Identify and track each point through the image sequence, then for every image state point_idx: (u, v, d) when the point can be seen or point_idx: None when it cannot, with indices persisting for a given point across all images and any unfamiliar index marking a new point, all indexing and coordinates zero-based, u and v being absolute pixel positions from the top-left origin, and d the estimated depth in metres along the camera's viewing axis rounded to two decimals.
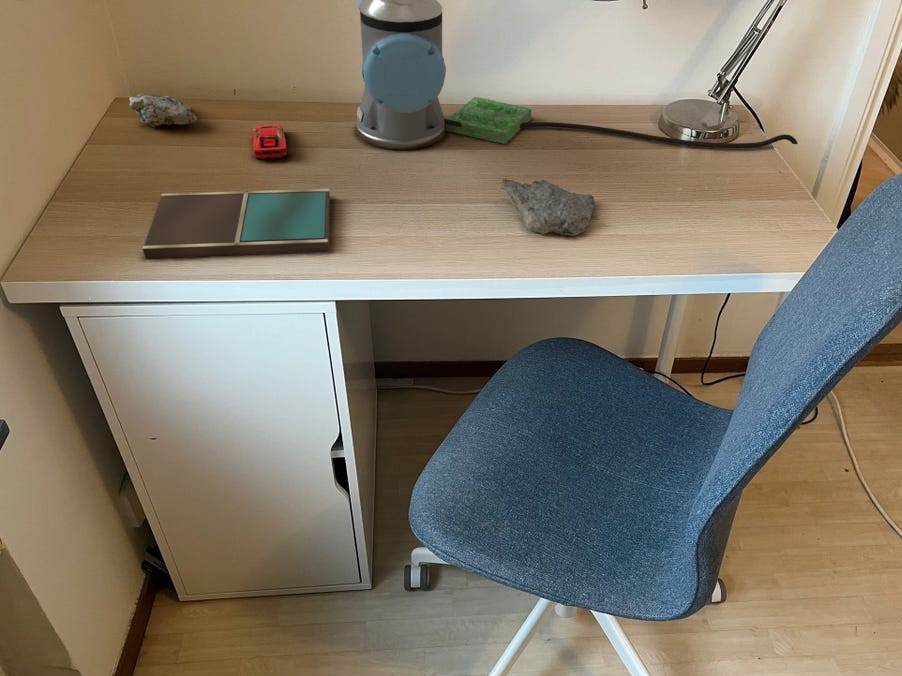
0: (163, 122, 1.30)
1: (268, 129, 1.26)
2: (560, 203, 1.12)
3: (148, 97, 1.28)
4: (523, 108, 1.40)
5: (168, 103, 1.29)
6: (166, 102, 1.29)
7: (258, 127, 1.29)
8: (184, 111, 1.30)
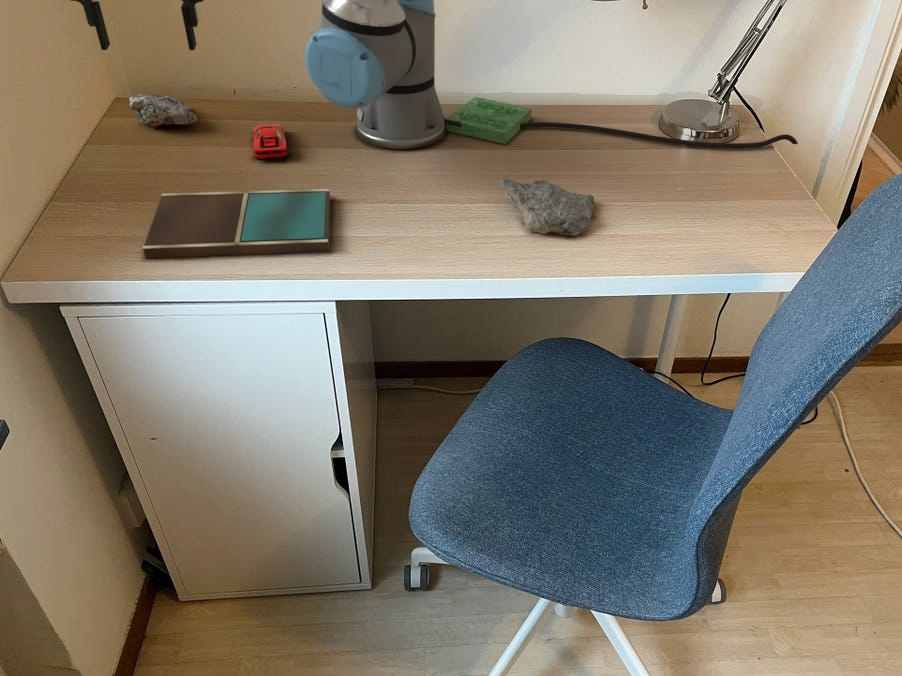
0: (163, 122, 1.30)
1: (268, 129, 1.26)
2: (560, 203, 1.12)
3: (148, 97, 1.28)
4: (523, 108, 1.40)
5: (168, 103, 1.29)
6: (166, 102, 1.29)
7: (258, 127, 1.29)
8: (184, 111, 1.30)
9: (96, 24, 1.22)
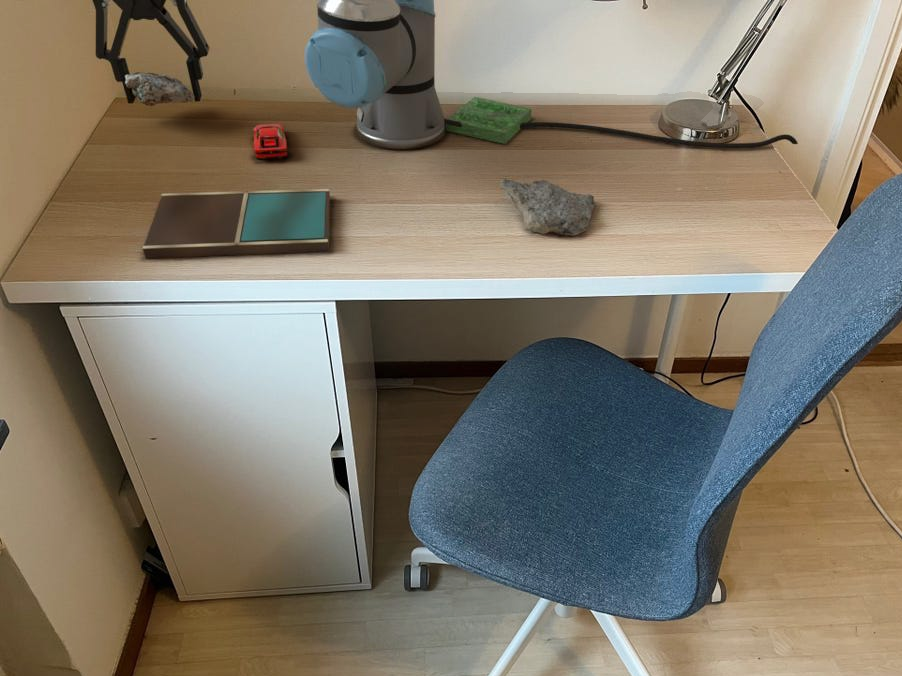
0: (160, 100, 1.28)
1: (268, 129, 1.26)
2: (560, 203, 1.12)
3: (144, 74, 1.26)
4: (523, 108, 1.40)
5: (164, 81, 1.27)
6: (162, 80, 1.27)
7: (258, 127, 1.29)
8: (181, 89, 1.27)
9: (123, 80, 1.28)
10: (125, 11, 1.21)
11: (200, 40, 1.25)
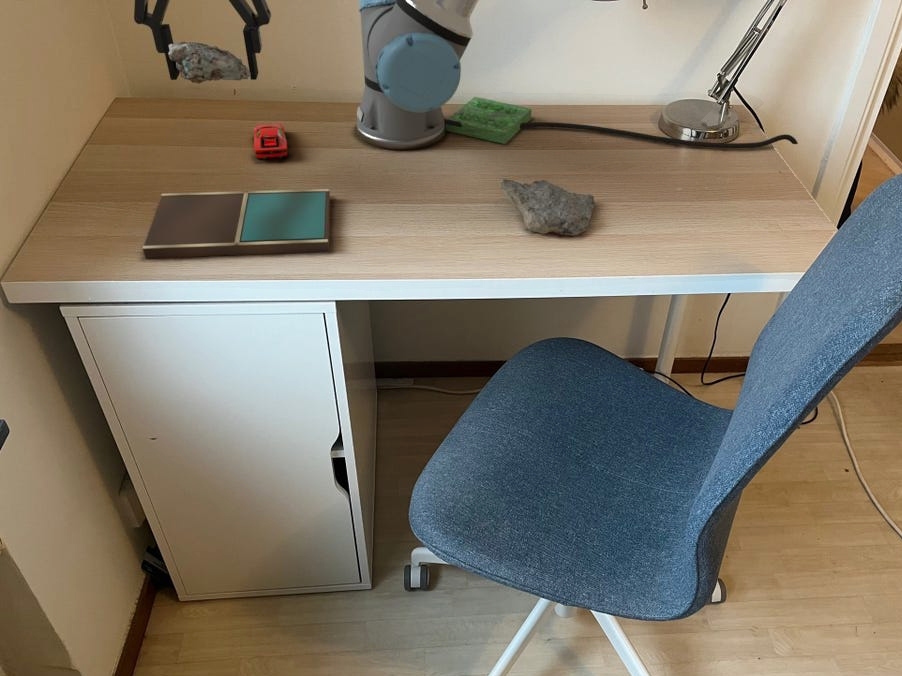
0: (209, 77, 1.05)
1: (269, 129, 1.26)
2: (560, 203, 1.12)
3: (192, 44, 1.03)
4: (523, 108, 1.40)
5: (216, 53, 1.04)
6: (214, 51, 1.04)
7: (259, 127, 1.29)
8: (235, 63, 1.05)
9: (166, 51, 1.05)
10: None
11: (261, 4, 1.03)
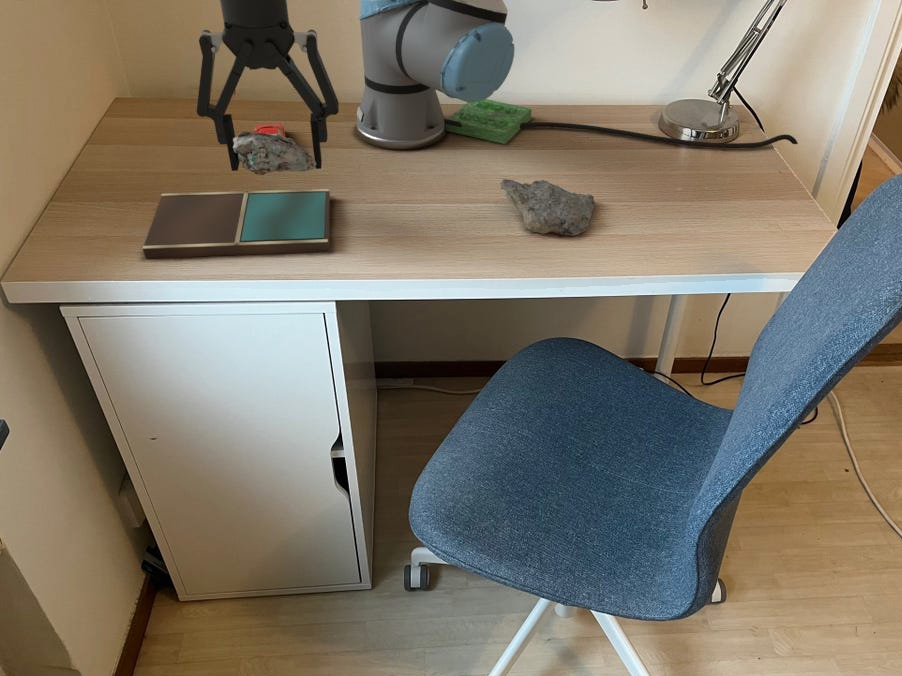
0: (275, 169, 1.00)
1: (269, 129, 1.26)
2: (560, 203, 1.12)
3: (258, 137, 0.98)
4: (523, 108, 1.40)
5: (283, 145, 0.99)
6: (280, 144, 0.99)
7: (259, 127, 1.29)
8: (303, 155, 0.99)
9: (228, 142, 1.00)
10: (241, 58, 0.93)
11: (331, 95, 0.98)
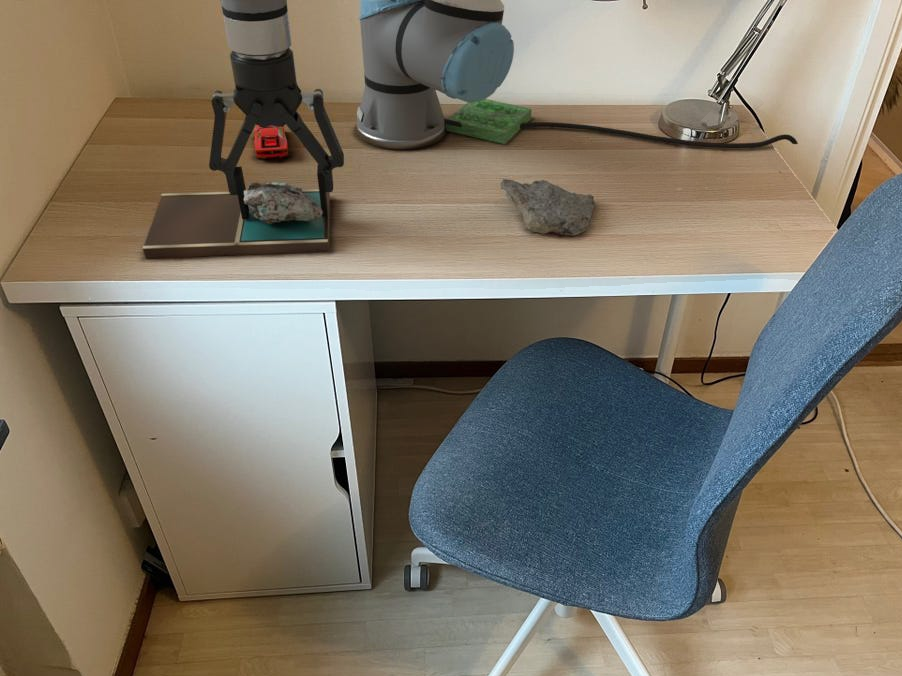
0: (284, 219, 1.05)
1: (269, 129, 1.26)
2: (560, 203, 1.12)
3: (267, 190, 1.03)
4: (523, 108, 1.40)
5: (291, 197, 1.04)
6: (289, 195, 1.04)
7: (259, 127, 1.29)
8: (310, 206, 1.04)
9: (239, 193, 1.05)
10: (251, 118, 0.98)
11: (337, 149, 1.03)
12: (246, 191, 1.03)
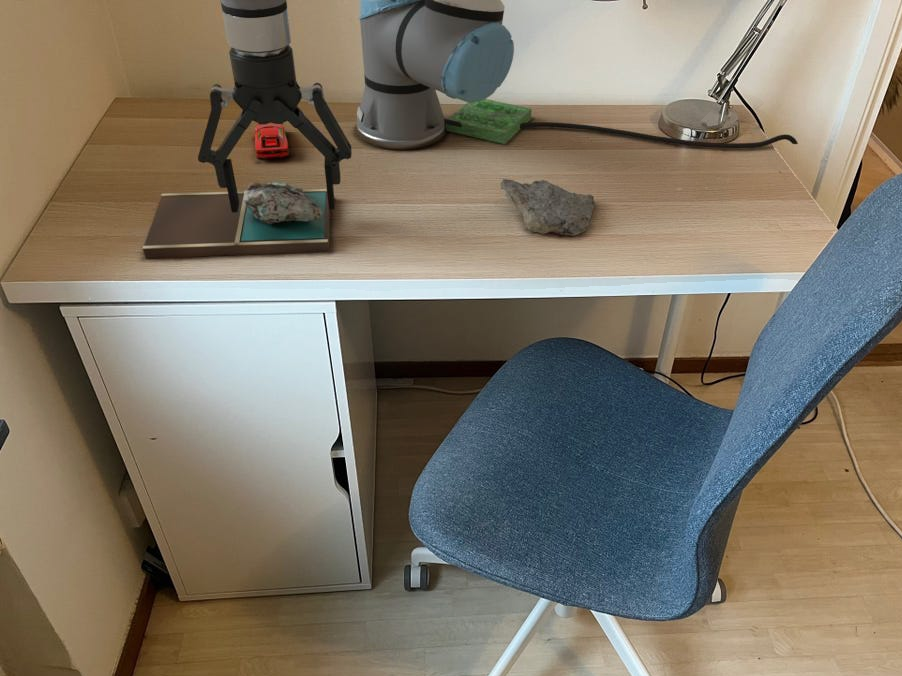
0: (284, 220, 1.05)
1: (270, 129, 1.26)
2: (560, 203, 1.12)
3: (267, 190, 1.03)
4: (523, 108, 1.40)
5: (291, 197, 1.04)
6: (289, 196, 1.04)
7: (259, 127, 1.29)
8: (310, 207, 1.04)
9: (228, 186, 1.04)
10: (249, 114, 0.97)
11: (342, 141, 1.02)
12: (246, 191, 1.03)
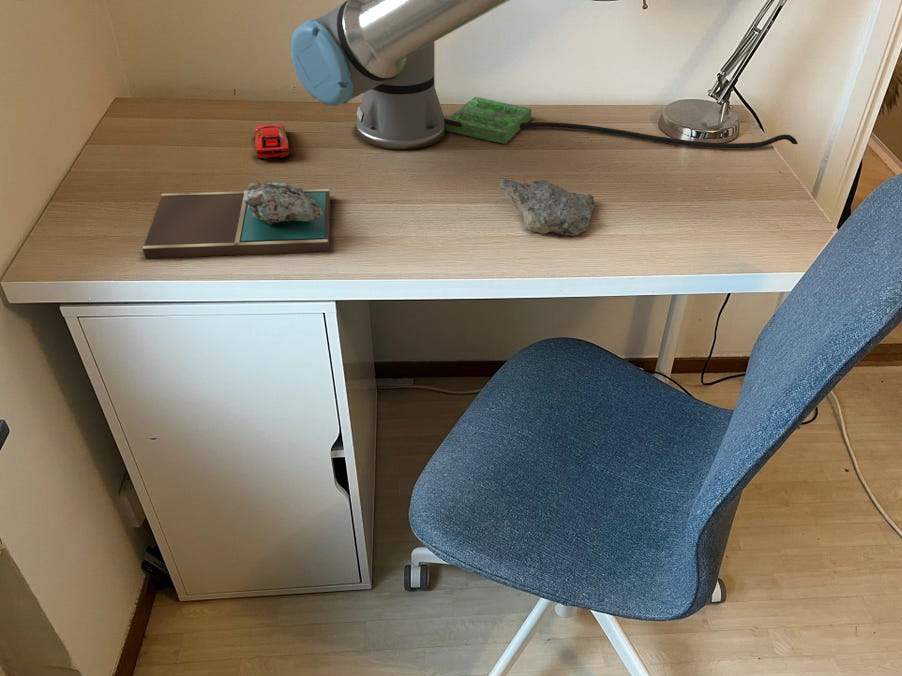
0: (284, 220, 1.05)
1: (270, 129, 1.26)
2: (560, 203, 1.12)
3: (267, 190, 1.03)
4: (523, 108, 1.40)
5: (291, 197, 1.04)
6: (289, 196, 1.04)
7: (260, 127, 1.29)
8: (310, 207, 1.04)
9: None
10: None
11: None
12: (246, 191, 1.03)
